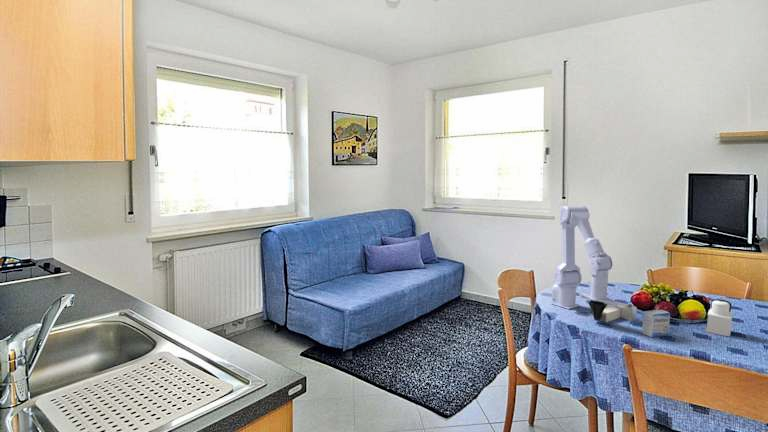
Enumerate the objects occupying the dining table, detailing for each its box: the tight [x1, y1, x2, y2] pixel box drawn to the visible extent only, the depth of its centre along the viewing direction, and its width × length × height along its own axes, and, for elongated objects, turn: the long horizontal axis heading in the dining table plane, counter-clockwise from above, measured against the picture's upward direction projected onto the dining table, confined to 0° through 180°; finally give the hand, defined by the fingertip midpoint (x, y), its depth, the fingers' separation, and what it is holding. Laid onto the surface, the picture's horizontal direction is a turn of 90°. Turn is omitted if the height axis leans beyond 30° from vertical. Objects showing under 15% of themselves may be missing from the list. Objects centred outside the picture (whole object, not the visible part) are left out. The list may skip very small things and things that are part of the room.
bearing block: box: [605, 301, 637, 322], centre depth 187 cm, size 14×3×6 cm, turn 34°
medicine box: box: [641, 309, 671, 339], centre depth 167 cm, size 8×4×9 cm, turn 105°
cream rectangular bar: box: [599, 306, 622, 323], centre depth 184 cm, size 14×4×4 cm, turn 122°
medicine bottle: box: [705, 298, 734, 337], centre depth 169 cm, size 7×7×12 cm
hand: (597, 319), depth 180 cm, fingers closed
